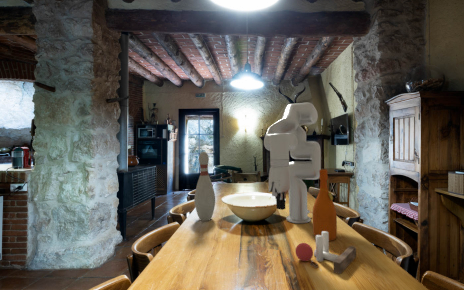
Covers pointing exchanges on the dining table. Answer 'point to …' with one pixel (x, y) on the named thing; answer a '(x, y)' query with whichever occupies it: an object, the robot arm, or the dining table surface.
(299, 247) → the ball
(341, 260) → the brown wooden block
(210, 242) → the dining table surface
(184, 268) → the dining table surface
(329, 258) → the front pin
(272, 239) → the dining table surface
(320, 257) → the pin
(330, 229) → the wine bottle
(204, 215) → the bowling pin
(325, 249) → the pin
